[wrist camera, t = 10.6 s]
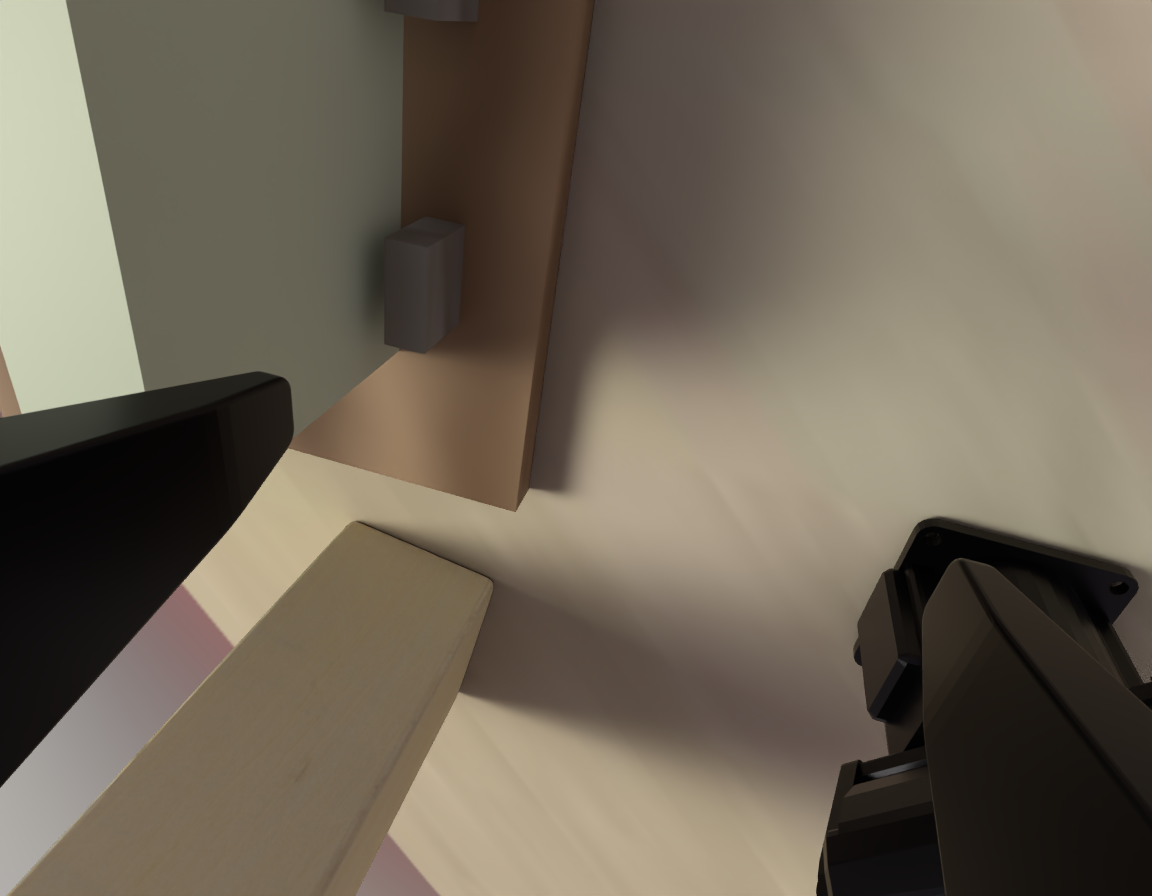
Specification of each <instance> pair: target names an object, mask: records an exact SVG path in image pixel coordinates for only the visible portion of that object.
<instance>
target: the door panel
mask: <svg viewBox="0 0 1152 896" xmlns="http://www.w3.org/2000/svg"><path fill="white" fill-rule="evenodd" d="M403 41H404V15H402V14H396V13H391V12H385V11H384V0H0V346H1V350H2V353H3V356H4V359H5V362H6V366H7V369H8V372H9V375H10V378H11V381H12V385H13V388H14V391H15V394H16V397H17V401H18V404H19V407H20V410H21V413H22V414H24V413H29V412H35V411H40V410H46V409H51V408H57V407H62V406H68V405H73V404H79V403H84V402H90V401H95V400H101V399H106V398H112V397H117V396H123V395H128V394H134V393H139V392H145V391H150V390H156V389H161V388H167V387H172V386H178V385H183V384H189V383H194V382H200V381H205V380H211V379H216V378H222V377H227V376H233V375H238V374H244V373H249V372H255V371H262V372H266V373H270V374H274V375H277V376H281V377H284V378H285V379H286V380H287V381H288V382H289V384H290V386H291V393H292V406H293V418H294V435H293V438H294V437H295V436H297V435H298V434H299V433H300V432H301V431H303V430H304V429H305V428H306V427H308V426H309V425H310V424H311V423H312V422H314V421H315V420H316V419H317V418H318V417H320V416H321V415H322V414H323V413H324V412H326V411H327V410H328V409H329V408H331V407H332V406H333V405H334V404H335V403H337V402H338V401H339V400H340V399H341V398H343V397H344V396H345V395H346V394H348V393H349V392H350V391H351V390H352V389H354V388H355V387H356V386H357V385H358V384H360V383H361V382H362V381H363V380H365V379H366V378H367V377H368V376H369V375H371V374H372V373H373V372H374V371H375V370H377V369H378V368H379V367H380V366H381V365H383V364H384V363H385V362H386V361H388V360H389V359H390V358H391V357H392V356H394V355H395V354H396V353H397V352H398V351H399V348H397V347H393V346H389V345H385V344H384V238H385V237H386V236H388V235H390V234H392V233H394V232H396V231H398V230H400V229H401V180H402V111H403Z"/></svg>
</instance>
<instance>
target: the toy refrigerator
mask: <svg viewBox="0 0 1152 896" xmlns="http://www.w3.org/2000/svg"><path fill="white" fill-rule="evenodd" d="M492 592H493V582H492V581H491V580H490V579H488V578H486V577H484V576H482V575H480V574H478V573H475V572H473V571H471V570H468V569H466V568H463V567H461V566H459V565H456V564H454V563H452V562H450V561H448V560H445V559H443V558H440V557H437V556H435V555H433V554H431V553H429V552H427V551H425V550H422V549H420V548H417V547H415V546H413V545H410V544H408V543H406V542H403V541H400V540H398V539H396V538H394V537H392V536H389V535H387V534H385V533H382V532H380V531H378V530H375V529H373V528H371V527H368V526H366V525H364V524H361V523H358V522H351V523H350V524H348V525H347V526H346V527H345V528H344V529H343V530H342V531H341V532H340V533H339V534H338V535H337V536H336V538H335V539H334V540H333V541H332V542H331V543H330V544H329V545H328V546H327V547H326V548H325V549H324V550H323V552H322V553H321V554H320V555H319V556H318V557H317V558H316V559H315V560H314V561H313V563H312V564H311V565H310V566H309V567H308V568H307V569H306V570H305V571H304V572H303V573H302V574H301V576H300V577H299V578H298V579H297V580H296V581H295V582H294V583H293V584H292V585H291V586H290V587H289V589H288V590H287V591H286V592H285V593H284V594H283V595H282V596H281V597H280V598H279V599H278V601H277V602H276V603H275V604H274V605H273V606H272V607H271V608H270V609H269V610H268V611H267V612H266V613H265V614H264V616H263V617H262V618H261V619H260V620H259V621H258V622H257V623H256V624H255V626H254V627H253V628H252V629H251V630H250V631H249V632H248V633H247V634H246V635H245V636H244V638H243V639H242V640H241V641H240V642H239V643H238V644H237V645H236V646H235V647H234V648H233V650H232V651H231V652H230V653H229V654H228V655H227V656H226V657H225V658H224V659H223V660H222V662H221V663H220V664H219V665H218V666H217V667H216V668H215V669H214V670H213V671H212V673H211V674H210V675H209V676H208V677H207V678H206V679H205V680H204V681H203V682H202V683H201V685H200V686H199V687H198V688H197V689H196V690H195V691H194V692H193V693H192V694H191V696H190V697H189V698H188V699H187V700H186V701H185V702H184V703H183V704H182V705H181V706H180V707H179V709H178V710H177V711H176V712H175V713H174V714H173V715H172V716H171V717H170V719H169V720H168V721H167V722H166V723H165V724H164V725H163V726H162V727H161V728H160V729H159V730H158V732H157V733H156V734H155V735H154V736H153V737H152V738H151V739H150V740H149V741H148V742H147V744H146V745H145V746H144V747H143V748H142V749H141V750H140V751H139V752H138V753H137V754H136V756H135V757H134V758H133V759H132V760H131V761H130V762H129V763H128V764H127V765H126V767H125V768H124V769H123V770H122V771H121V772H120V773H119V774H118V775H117V776H116V777H115V778H114V780H113V781H112V782H111V783H110V784H109V785H108V786H107V787H106V788H105V789H104V790H103V792H102V793H101V794H100V795H99V796H98V797H97V798H96V799H95V800H94V801H93V802H92V804H91V805H90V806H89V807H88V808H87V809H86V810H85V811H84V812H83V813H82V814H81V815H80V817H79V818H78V819H77V820H76V821H75V822H74V823H73V824H72V825H71V826H70V827H69V828H68V829H67V831H66V832H65V833H64V834H63V835H62V836H61V837H60V838H59V839H58V840H57V841H56V842H55V843H54V845H53V846H52V847H51V848H50V849H49V850H48V851H47V852H46V853H45V854H44V856H43V857H42V858H41V859H40V860H39V861H38V862H37V863H36V864H35V865H34V866H33V867H32V869H31V870H30V871H29V872H28V873H27V874H26V875H25V876H24V877H23V878H22V879H21V881H20V882H19V883H18V884H17V885H16V886H15V887H14V888H13V889H12V890H11V891H10V892H9V893H8V895H7V896H355V895H356V893H357V891H358V889H359V887H360V885H361V883H362V881H363V879H364V877H365V876H366V874H367V872H368V870H369V868H370V865H371V864H372V862H373V860H374V858H375V856H376V854H377V852H378V850H379V848H380V846H381V844H382V842H383V840H384V838H385V836H386V834H387V832H388V830H389V828H390V826H391V824H392V822H393V820H394V818H395V816H396V815H397V813H398V811H399V809H400V807H401V805H402V803H403V801H404V799H405V797H406V795H407V793H408V791H409V789H410V787H411V785H412V783H413V781H414V779H415V777H416V775H417V773H418V771H419V769H420V767H421V765H422V763H423V761H424V759H425V757H426V756H427V754H428V752H429V750H430V748H431V746H432V744H433V742H434V740H435V738H436V736H437V734H438V732H439V730H440V728H441V726H442V724H443V722H444V720H445V718H446V716H447V714H448V713H449V711H450V709H451V707H452V705H453V703H454V701H455V699H456V696H457V694H458V692H459V689H460V686H461V684H462V681H463V678H464V675H465V672H466V669H467V667H468V664H469V661H470V658H471V655H472V652H473V649H474V646H475V643H476V640H477V637H478V634H479V631H480V628H481V625H482V622H483V619H484V616H485V613H486V610H487V607H488V604H489V601H490V598H491V595H492Z"/></svg>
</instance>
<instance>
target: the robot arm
mask: <svg viewBox="0 0 1152 896" xmlns="http://www.w3.org/2000/svg"><path fill="white" fill-rule="evenodd" d="M293 435H294V418H293V406H292V393H291V386H290V384H289V382H288V381H287V380H286V379H285V378H284V377H281V376H277V375H274V374H270V373H266V372H262V371H255V372H249V373H244V374H238V375H233V376H227V377H222V378H216V379H211V380H205V381H200V382H194V383H189V384H183V385H178V386H172V387H167V388H161V389H156V390H150V391H145V392H139V393H134V394H128V395H123V396H117V397H112V398H106V399H101V400H95V401H90V402H84V403H79V404H73V405H68V406H62V407H57V408H51V409H46V410H40V411H35V412H29V413H24V414H18V415H13V416H7V417H2V418H0V788H1V786H2V785H3V784H4V783H5V782H6V781H7V780H8V778H9V777H10V776H11V775H12V774H13V773H14V772H15V771H16V769H17V768H18V767H19V766H20V765H21V764H22V763H23V762H24V760H25V759H26V758H27V757H28V756H29V755H30V754H31V753H32V751H33V750H34V749H35V748H36V747H37V746H38V745H39V744H40V742H41V741H42V740H43V739H44V738H45V737H46V736H47V735H48V733H49V732H50V731H51V730H52V729H53V728H54V726H56V724H57V723H58V722H59V721H60V720H61V719H62V718H63V716H64V715H65V714H66V713H67V712H68V711H69V710H70V709H71V707H72V706H73V705H74V704H75V703H76V702H77V701H78V700H79V698H80V697H81V696H82V695H83V694H84V693H85V692H86V691H87V689H88V688H89V687H90V686H91V685H92V684H93V682H94V681H95V680H96V679H97V678H98V677H99V676H100V675H101V674H102V672H103V671H104V670H105V669H106V668H107V667H108V666H109V664H110V663H111V662H112V661H113V660H114V659H115V658H116V657H117V656H118V654H119V653H120V652H121V651H122V650H123V649H124V648H125V646H126V645H127V644H128V643H129V642H130V641H131V640H132V639H133V637H134V636H135V635H136V634H137V633H138V632H139V631H140V630H141V629H142V627H143V626H144V625H145V624H146V623H147V622H148V621H149V619H150V618H151V617H152V616H153V615H154V613H156V611H157V610H158V609H159V608H160V607H161V606H162V605H163V604H164V603H165V601H166V600H167V599H168V598H169V597H170V596H171V595H172V594H173V592H174V591H175V590H176V589H177V588H178V587H179V586H180V585H181V583H182V582H183V581H184V580H185V579H186V578H187V577H188V576H189V574H190V573H191V572H192V571H193V570H194V569H195V568H196V566H197V565H198V564H199V563H200V562H201V561H202V560H203V559H204V557H205V556H206V555H207V554H208V553H209V552H210V551H211V550H212V548H213V547H214V546H215V545H216V544H217V543H218V542H219V541H220V539H221V538H222V537H223V536H224V535H225V534H226V532H227V531H228V530H229V529H230V528H231V526H232V525H233V524H234V523H235V521H236V520H237V519H238V517H239V516H240V515H241V513H242V512H243V511H244V509H245V508H246V507H247V505H248V504H249V502H250V501H251V499H252V498H253V497H254V495H255V494H256V492H257V491H258V490H259V488H260V487H261V485H262V484H263V482H264V481H265V480H266V478H267V477H268V475H269V474H270V473H271V471H272V470H273V468H274V467H275V466H276V464H277V463H278V461H279V460H280V458H281V457H282V456H283V454H284V453H285V451H286V450H287V449H288V447H289V445H290V444H291V441H292V439H293ZM929 533H937V534H938V535H937V536H936V537H934V538H926V537H925V536H926V535H927V534H929ZM1116 582H1122V583H1121V584H1120V585H1117V586H1110V585H1112V584H1113V583H1116ZM1138 588H1139V587H1138V582H1137V581H1136V579H1135V578H1134V576H1133V575H1132V573H1131V572H1130V571H1129V570H1127V569H1124V568H1122V567H1118V566H1114V565H1110V564H1106V563H1103V562H1099V561H1095V560H1091V559H1087V558H1083V557H1080V556H1076V555H1072V554H1068V553H1064V552H1060V551H1056V550H1053V549H1049V548H1045V547H1041V546H1037V545H1033V544H1030V543H1026V542H1022V541H1018V540H1014V539H1010V538H1006V537H1003V536H999V535H995V534H991V533H987V532H983V531H980V530H976V529H972V528H968V527H964V526H960V525H957V524H953V523H949V522H945V521H941V520H937V519H927V520H923V521H921V522H919V523H918V524H917V525H916V526H915V528H914V529H913V531H912V533H911V535H910V537H909V539H908V541H907V543H906V545H905V547H904V549H903V551H902V553H901V555H900V557H899V559H898V561H897V563H896V565H895V567H894V568H893V569H892V568H891V569H888V570H887V571H885V572H883V573H882V575H881V577H880V579H879V581H878V583H877V585H876V587H875V589H874V591H873V593H872V595H871V597H870V599H869V601H868V603H867V605H866V607H865V609H864V611H863V613H862V615H861V617H860V619H859V621H858V634H859V637H858V639H857V641H856V643H855V645H854V648H853V653H854V659H855V662H856V663H857V664H858V665H860V666H862V669H863V678H864V687H865V695H866V704H867V711H868V712H869V714H870V716H871V717H872V719H874V720H877V721H881V722H884V724H885V731H886V738H887V746H888V753H889V755H888V756H884V757H881V758H877V759H874V760H870V761H867V762H862V761H861V760H856V761H853V762H849V763H846V764H842V766H841V770H840V774H839V778H838V783H837V787H836V791H835V796H834V800H833V804H832V809H831V813H830V818H829V822H828V826H827V831H826V835H825V839H824V843H823V848H822V852H821V857H820V861H819V870H818V883H817V888H816V894H817V896H1152V682H1148V683H1145V684H1144V683H1143V681H1142V679H1141V678H1140V676H1139V674H1138V672H1137V670H1136V668H1135V666H1134V665H1133V663H1132V661H1131V659H1130V657H1129V655H1128V653H1127V652H1126V650H1125V648H1124V646H1123V644H1122V642H1121V641H1120V639H1119V637H1118V635H1117V633H1116V631H1115V629H1114V628H1113V626H1112V624H1113V623H1114V621H1115V620H1116V619H1117V617H1118V616H1119V615H1120V614H1121V612H1122V611H1123V610H1124V608H1125V607H1126V606H1127V605H1128V603H1129V602H1130V601H1131V599H1132V598H1133V597H1134V596H1135V594H1136V593H1137V591H1138ZM1150 678H1151V681H1152V677H1150Z"/></svg>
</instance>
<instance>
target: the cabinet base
mask: <svg viewBox="0 0 1152 896" xmlns="http://www.w3.org/2000/svg"><path fill="white" fill-rule="evenodd" d="M594 1H595V0H384V11H385V12H391V13H396V14H402V15H404V41H403V111H402V180H401V229H400V230H398V231H396V232H394V233H392V234H390V235H388V236H386V237H385V238H384V344H385V345H389V346H393V347H397V348H399V351H398V352H397V353H396V354H395V355H394V356H392V357H391V358H390V359H389V360H388V361H386V362H385V363H384V364H383V365H381V366H380V367H379V368H378V369H377V370H375V371H374V372H373V373H372V374H371V375H369V376H368V377H367V378H366V379H365V380H363V381H362V382H361V383H360V384H358V385H357V386H356V387H355V388H354V389H352V390H351V391H350V392H349V393H348V394H346V395H345V396H344V397H343V398H341V399H340V400H339V401H338V402H337V403H335V404H334V405H333V406H332V407H331V408H329V409H328V410H327V411H326V412H324V413H323V414H322V415H321V416H320V417H318V418H317V419H316V420H315V421H314V422H312V423H311V424H310V425H309V426H308V427H306V428H305V429H304V430H303V431H301V432H300V433H299V434H298V435H297V436H295V437H294V438H293V439H292V441H291V444H290V445H289V447H288V448H289V449H293V450H297V451H300V452H304V453H307V454H311V455H314V456H318V457H321V458H325V459H329V460H332V461H336V462H339V463H343V464H346V465H350V466H353V467H357V468H361V469H364V470H368V471H371V472H375V473H378V474H382V475H385V476H389V477H393V478H396V479H400V480H403V481H407V482H410V483H414V484H418V485H421V486H425V487H428V488H432V489H435V490H439V491H442V492H446V493H450V494H453V495H457V496H460V497H464V498H467V499H471V500H474V501H478V502H482V503H485V504H489V505H492V506H496V507H499V508H503V509H506V510H510V511H514V512H516V510H517V509H518V507H519V505H520V503H521V502H522V500H523V498H524V496H525V494H526V493H527V491H528V489H529V483H530V475H531V468H532V460H533V453H534V446H535V438H536V431H537V423H538V416H539V409H540V401H541V394H542V386H543V379H544V372H545V364H546V357H547V349H548V342H549V335H550V327H551V320H552V312H553V305H554V298H555V290H556V283H557V275H558V268H559V261H560V253H561V246H562V238H563V231H564V224H565V216H566V209H567V201H568V194H569V187H570V179H571V172H572V164H573V157H574V150H575V142H576V135H577V127H578V120H579V113H580V105H581V98H582V90H583V83H584V76H585V68H586V61H587V53H588V46H589V39H590V31H591V24H592V16H593V9H594ZM0 411H1V414H2V417H7V416H13V415H18V414H22V413H21V410H20V407H19V404H18V401H17V397H16V394H15V391H14V388H13V385H12V381H11V378H10V375H9V372H8V369H7V366H6V362H5V359H4V356H3V353H2V350H1V346H0Z"/></svg>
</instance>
